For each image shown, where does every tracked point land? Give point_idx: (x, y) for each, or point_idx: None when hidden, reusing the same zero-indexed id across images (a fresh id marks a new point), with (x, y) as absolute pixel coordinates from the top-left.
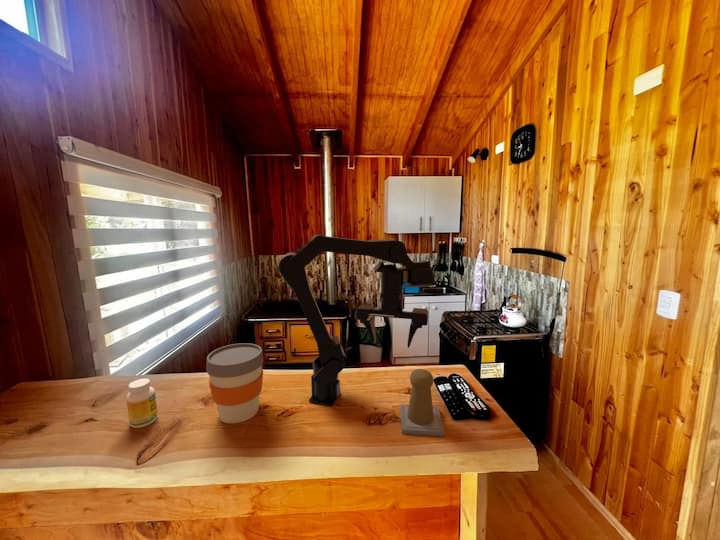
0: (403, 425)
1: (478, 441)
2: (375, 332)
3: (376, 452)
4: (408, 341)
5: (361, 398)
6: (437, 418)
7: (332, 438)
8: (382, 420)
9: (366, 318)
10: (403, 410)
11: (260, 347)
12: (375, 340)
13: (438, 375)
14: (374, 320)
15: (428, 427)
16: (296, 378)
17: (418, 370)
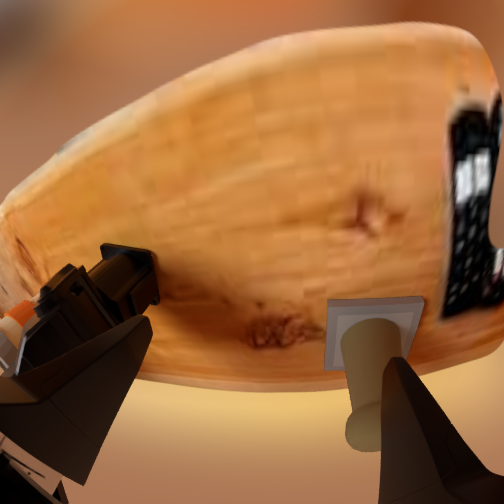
0: (328, 362)
1: (450, 357)
2: (101, 356)
3: (280, 390)
4: (385, 426)
5: (212, 269)
6: (406, 339)
7: (204, 369)
8: (282, 338)
9: (59, 490)
10: (333, 326)
11: (3, 359)
12: (141, 334)
13: (465, 98)
14: (26, 413)
15: None
16: (50, 207)
17: (373, 443)
